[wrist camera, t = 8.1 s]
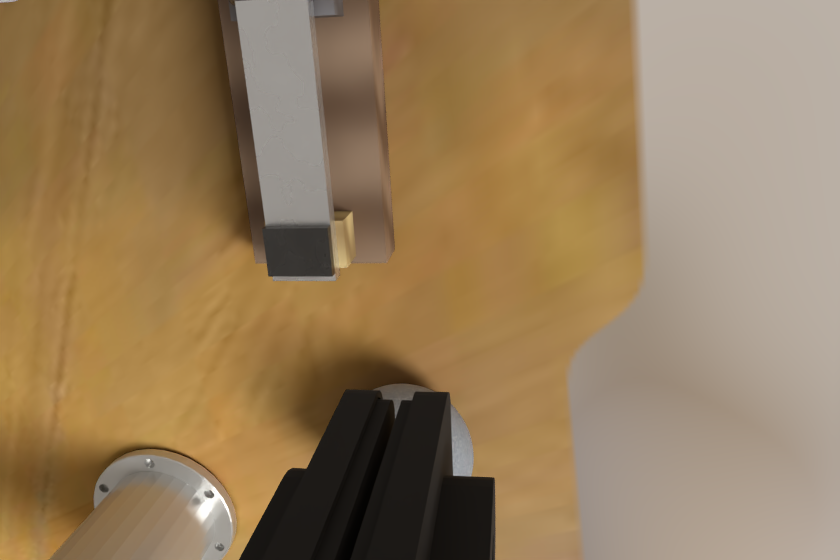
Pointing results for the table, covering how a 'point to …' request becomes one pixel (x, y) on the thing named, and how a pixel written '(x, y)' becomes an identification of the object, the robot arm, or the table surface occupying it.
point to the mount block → (333, 127)
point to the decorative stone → (460, 433)
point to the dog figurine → (7, 1)
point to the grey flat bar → (289, 137)
